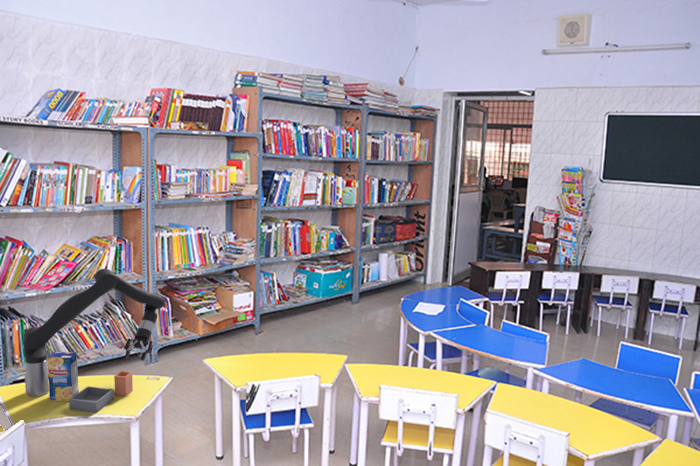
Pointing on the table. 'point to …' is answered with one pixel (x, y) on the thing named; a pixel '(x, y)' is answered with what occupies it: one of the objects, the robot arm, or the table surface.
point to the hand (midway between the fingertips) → (134, 359)
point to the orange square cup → (123, 383)
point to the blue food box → (62, 375)
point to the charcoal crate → (91, 399)
